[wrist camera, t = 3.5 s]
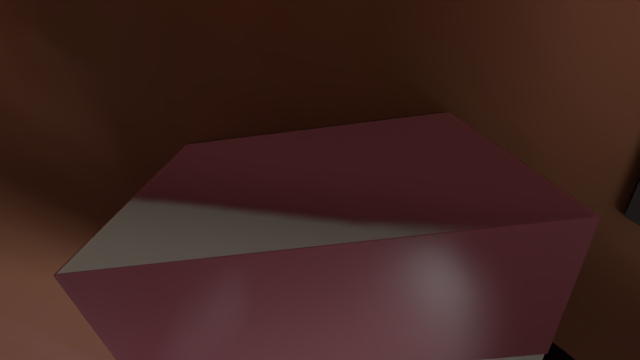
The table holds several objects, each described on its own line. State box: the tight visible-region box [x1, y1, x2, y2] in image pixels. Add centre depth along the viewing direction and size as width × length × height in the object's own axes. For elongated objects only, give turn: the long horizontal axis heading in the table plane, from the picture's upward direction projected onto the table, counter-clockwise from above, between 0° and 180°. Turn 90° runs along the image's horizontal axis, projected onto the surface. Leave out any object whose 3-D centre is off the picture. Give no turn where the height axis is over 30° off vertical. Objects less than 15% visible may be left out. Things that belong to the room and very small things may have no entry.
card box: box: [53, 112, 601, 360], centre depth 7 cm, size 9×6×4 cm, turn 7°
